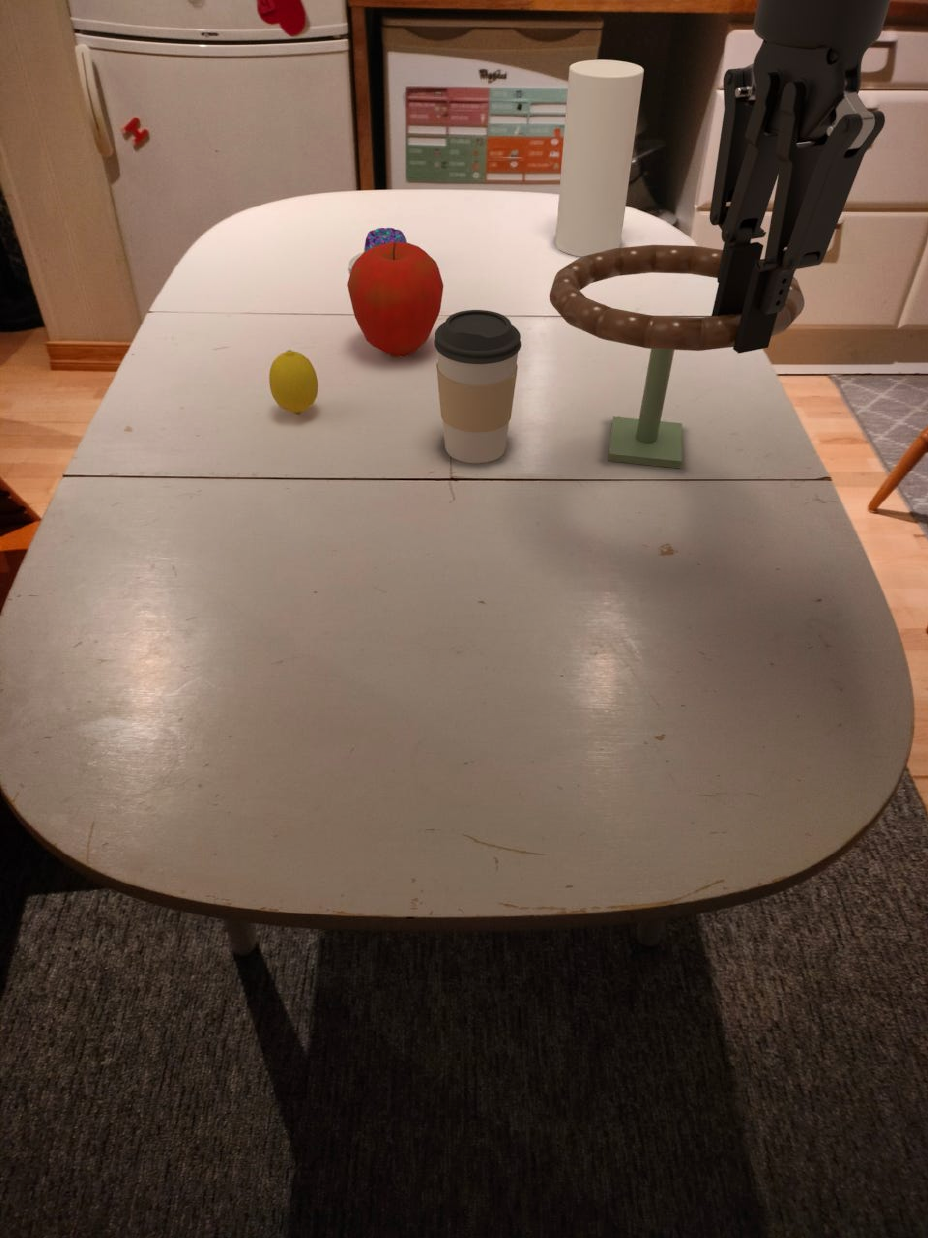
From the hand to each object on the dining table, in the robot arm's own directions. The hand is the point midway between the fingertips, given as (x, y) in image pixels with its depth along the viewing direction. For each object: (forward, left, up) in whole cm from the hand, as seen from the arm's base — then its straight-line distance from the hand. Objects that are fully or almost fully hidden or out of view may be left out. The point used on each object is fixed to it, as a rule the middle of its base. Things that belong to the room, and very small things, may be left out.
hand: (737, 338), depth 66 cm
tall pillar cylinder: (+15, -79, -23) cm, 84 cm away
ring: (+5, -8, 0) cm, 9 cm away
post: (+4, -20, -23) cm, 31 cm away
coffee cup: (+23, -16, -23) cm, 37 cm away
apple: (+37, -37, -23) cm, 57 cm away
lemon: (+45, -19, -23) cm, 54 cm away
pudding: (+45, -63, -23) cm, 81 cm away
